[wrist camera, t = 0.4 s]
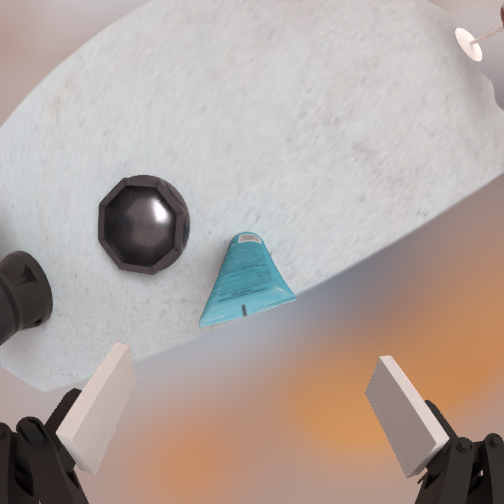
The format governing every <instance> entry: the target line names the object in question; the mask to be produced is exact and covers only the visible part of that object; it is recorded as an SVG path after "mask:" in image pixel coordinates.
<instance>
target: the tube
mask: <svg viewBox="0 0 504 504" xmlns="http://www.w3.org/2000/svg"><path fill="white" fill-rule="evenodd" d="M295 300H297V299H296V296H295V295H294V293H293V292H292V291H291V289H290V288H289V287H288V285H287V284H286V283H285V281H284V280H283V278H282V276H281V275H280V273H279V271H278V270H277V268H276V266H275V264H274V262H273V260H272V258H271V256H270V254H269V252H268V250H267V248H266V246H265V244H264V242H263V240H262V239H261V238H260V237H259V236H258V235H257V234H254V233H252V232H243V233H240V234H238V235H236V236H235V237H234V238H233V239H232V241H231V243H230V246H229V248H228V251H227V254H226V257H225V259H224V262H223V264H222V267H221V270H220V272H219V275H218V277H217V280H216V282H215V285H214V287H213V290H212V292H211V294H210V297H209V299H208V302H207V304H206V306H205V309H204V311H203V313H202V316H201V318H200V321H199V327H200V328H201V327H206V326H210V325H215V324H218V323H223V322H226V321H231V320H234V319H238V318H242V317H245V316H249V315H252V314H256V313H259V312H262V311H266V310H269V309H271V308H274V307H277V306H279V305H282V304H285V303H289V302H291V301H295Z"/></svg>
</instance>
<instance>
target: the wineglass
mask: <svg viewBox="0 0 504 504" xmlns="http://www.w3.org/2000/svg"><path fill="white" fill-rule="evenodd" d="M501 19H502V22H503V27H500V28H498V29H496V30H494V31H491V32H489V33H487V34H485V35H483V36H481V37H479V38H477V39H474V37H473V36H472V35H471V34H470V33H469V32H467V31H466V30H464V29H462V28H457V29H456V31H455V35H456V38H457V41H458V43H459V45H460V46H461V48H462V49H463V50H464V52H465V53H466V54H467V55H468V56H469V57H470V58H472V59H473V60H475V61H481V60H482V52H481V49H480V47H479V45H478V42H480V41H482V40H484V39H486V38H488V37H491V36H493V35H495V34H498V33H500V32H502V31H504V4H503V6H502V8H501Z"/></svg>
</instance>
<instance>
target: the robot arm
mask: <svg viewBox="0 0 504 504" xmlns="http://www.w3.org/2000/svg"><path fill="white" fill-rule="evenodd" d="M51 311H52V294H51V289H50V286H49V283H48V280H47V278H46V275H45V273H44V271H43V270H42V268H41V267H40V265H39V264H38V262H37V261H36V260H35V259H34V258H33V257H32V256H31V255H29V254H28V253H26V252H23V251H16V252H14V253H11V254H9V255H7V256H6V257H5V258H4V259H3V260H2V261H1V262H0V346H1V345H2V344H3V343H4V342H5V341H7V340H8V339H9V338H10V337H11V336H13V335H14V334H15V333H16V332H18V331H21V330H25V329H29V328H34V327H37V326H40V325H41V324H42V323H44V322H45V321H46V320H47V319H48V318H49V317H50V315H51ZM135 386H136V379H135V374H134V369H133V363H132V358H131V352H130V346H129V344H124V343H119V342H116V343H115V344H114V346H113V347H112V348H111V350H110V351H109V353H108V354H107V355H106V357H105V358H104V360H103V361H102V363H101V364H100V365H99V367H98V368H97V370H96V371H95V373H94V374H93V376H92V377H91V379H90V380H89V381H88V383H87V384H86V386H85V387H84V389H83V390H79V389H76V388H74V389H72V390H71V391H69V392H68V393H66V394H65V396H64V397H63V399H62V400H61V403H59V405H58V406H57V408H56V409H55V410H54V412H53V413H52V415H51V416H50V418H49V419H48V421H47V422H46V424H45V425H43V423H42V422H41V421H40V420H39V419H38V418H35V417H25V418H22V419H21V420H20V421H19V422H18V424H17V425H16V431H17V433H15V432H12V430H11V429H10V428H9V426H8V425H6V424H5V423H2V422H1V423H0V504H39V500H40V503H41V504H89V503H88V501H87V498H86V497H85V494H84V492H83V490H82V488H81V485H80V483H79V481H78V478H77V476H76V473H75V471H74V470H73V468H74V466H75V464H77V466H78V467H79V468H80V470H82V471H85V472H87V473H90V474H93V475H96V474H97V471H98V469H99V466H100V464H101V462H102V459H103V457H104V455H105V452H106V450H107V448H108V445H109V443H110V441H111V438H112V436H113V434H114V431H115V429H116V427H117V425H118V423H119V420H120V418H121V416H122V413H123V411H124V409H125V407H126V405H127V402H128V401H129V399H130V396H131V394H132V392H133V390H134V388H135ZM365 394H366V396H367V398H368V400H369V402H370V404H371V406H372V408H373V410H374V412H375V414H376V416H377V418H378V420H379V422H380V424H381V426H382V428H383V430H384V432H385V434H386V436H387V438H388V440H389V442H390V444H391V446H392V448H393V451H394V453H395V455H396V457H397V459H398V461H399V463H400V465H401V467H402V470H403V471H404V474H405V476H406V478H409V477H412V476H415V475H417V474H420V473H421V471H422V470H423V469H424V468H425V467H426V468H427V470H428V472H426V473H425V475H424V476H423V477H422V478H421V479H420V480H419V481H418V484H419V483H420V482H421V481H422V480H423V479H424V480H423V483H422V485H421V488H420V491H419V494H418V497H417V499H416V502H415V504H504V442H503V440H502V438H501V437H500V436H499V435H498V434H495V433H491V434H488V435H487V436H486V438H485V439H484V440H483V441H480V442H472V441H470V440H469V439H467V438H465V437H458V436H457V435H456V434H455V432H454V431H453V429H452V428H451V426H450V425H449V424H448V422H447V421H446V419H444V417H443V415H442V414H441V413H440V411H439V410H438V408H437V407H436V405H434V404H433V403H432V402H430V401H429V400H425V401H424V400H423V399H422V398H421V396H420V395H419V394H418V392H417V391H416V389H415V388H414V386H412V384H411V382H410V381H409V380H408V378H407V377H406V375H405V374H404V373H403V371H402V370H401V369H400V367H399V366H398V365H397V363H396V362H395V361H394V359H393V358H392V357H391V356H380V357H379V358H378V361H377V364H376V367H375V369H374V372H373V374H372V377H371V379H370V382H369V385H368V387H367V389H366V392H365ZM482 470H483V475H482V476H481V473H480V472H481V471H482Z"/></svg>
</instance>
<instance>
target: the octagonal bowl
mask: <svg viewBox="0 0 504 504" xmlns="http://www.w3.org/2000/svg"><path fill="white" fill-rule="evenodd" d="M189 233H190V216H189V212H188V208H187V206H186V203H185V201H184V199H183V197H182V196H181V195H180V193H179V192H178V191H177V190H176V188H175V187H173V186H172V185H171V184H170V183H168V182H167V181H165V180H163V179H161V178H159V177H155V176H150V175H138V176H133V177H130V178H123V179H122V180H121V181H120V182H119V183H118V184H117V185H116V186H115V187H114V188H113V189H112V190H111V191H110V192H109V194H108V195H107V196H106V197H105V198H104V199H103V200H102V201H101V202H100V204H99V220H98V240H99V242H100V244H101V245H102V246H103V248H104V249H105V250H106V252H107V253H108V254H109V256H110V257H111V258H112V260H113V261H114V262H115V263H116V265H117V266H118V267H119V269H120V268H121V270H127V271H133V272H139V273H145V274H151V275H154V274H156V273H157V272H158V271H160V270H163V269H165V268H166V267H168V266H170V265H171V264H172V263H173V262H174V261H175V260H176V259H177V258H178V257H179V256H180V255H181V253H182V252H183V250H184V249H185V246H186V244H187V242H188V238H189Z"/></svg>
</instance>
